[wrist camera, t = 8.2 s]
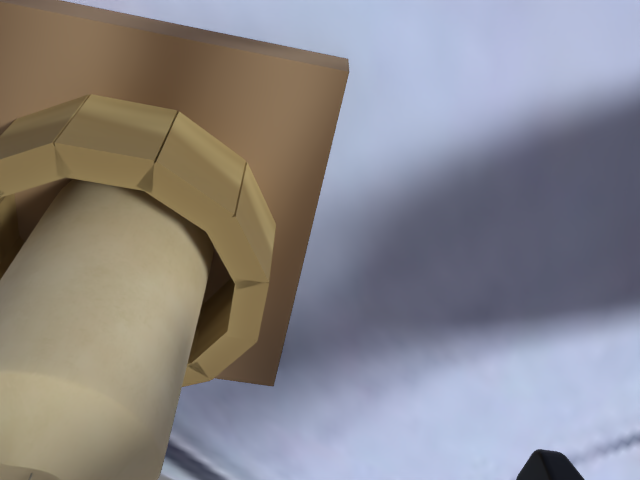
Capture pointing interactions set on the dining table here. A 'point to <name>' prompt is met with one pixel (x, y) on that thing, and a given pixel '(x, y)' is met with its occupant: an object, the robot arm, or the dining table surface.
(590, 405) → the dining table surface
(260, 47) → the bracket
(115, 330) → the candle
